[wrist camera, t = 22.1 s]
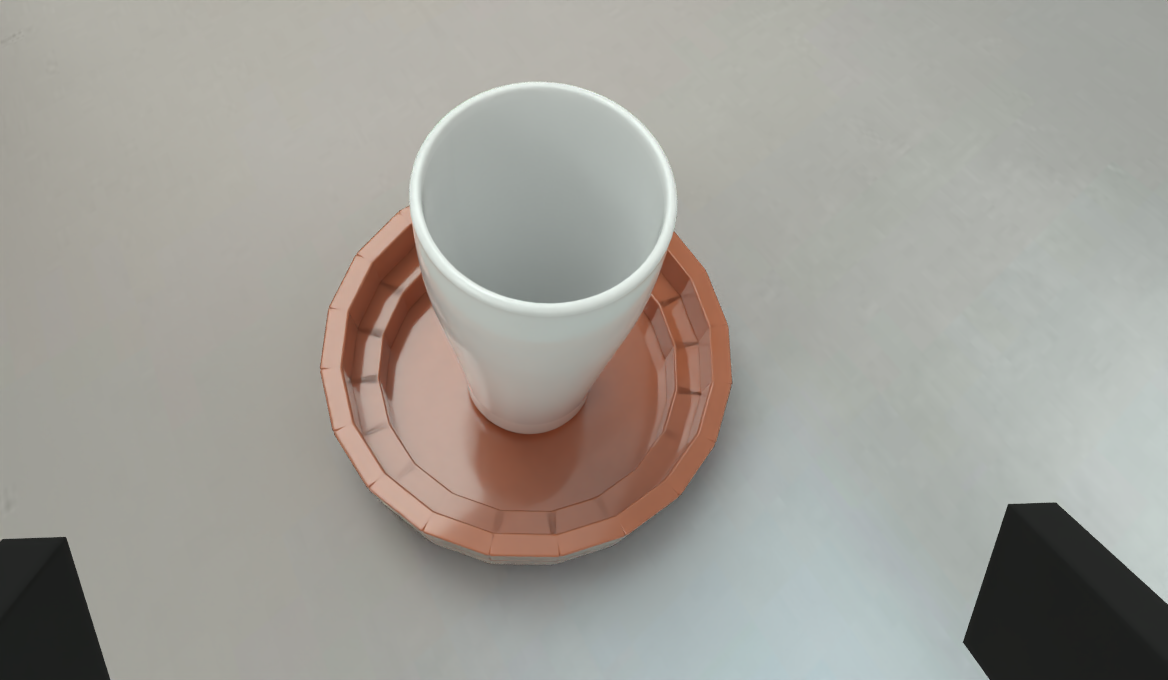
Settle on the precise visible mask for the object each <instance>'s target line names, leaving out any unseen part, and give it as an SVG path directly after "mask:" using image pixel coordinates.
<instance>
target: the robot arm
mask: <svg viewBox="0 0 1168 680" xmlns="http://www.w3.org/2000/svg"><path fill="white" fill-rule="evenodd" d="M963 643H964V644H965V646H966V647H967V648H968V650H969V651H970V653H971V654H972V655H973V657H974V658H975V660H976V661H977V662H978V664H979V665H980V667H981V668H982V669H983V671H984V672H985V674H986V675H987V676H988V678H989V679H990V680H1168V604H1167V603H1165V602H1164V601H1163V600H1162V599H1161V598H1160V597H1159V596H1158V595H1157V594H1156V593H1155V592H1153V591H1152V590H1151V589H1150V588H1149V587H1148V586H1147V585H1146V584H1145V583H1144V582H1142V581H1141V580H1140V579H1139V578H1138V577H1137V576H1136V575H1135V574H1134V573H1133V572H1132V571H1130V570H1129V569H1128V568H1127V567H1126V566H1125V565H1124V564H1123V563H1122V562H1121V561H1119V560H1118V559H1117V558H1116V557H1115V556H1114V555H1113V554H1112V553H1111V552H1110V551H1108V550H1107V549H1106V548H1105V547H1104V546H1103V545H1102V544H1101V543H1100V542H1099V541H1098V540H1096V539H1095V538H1094V537H1093V536H1092V535H1091V534H1090V533H1089V532H1088V531H1087V530H1085V529H1084V528H1083V527H1082V526H1081V525H1080V524H1079V523H1078V522H1077V521H1076V520H1075V519H1073V518H1072V517H1071V516H1070V515H1069V514H1068V513H1067V512H1066V511H1065V510H1064V509H1062V508H1061V507H1060V506H1059V505H1058V504H1057V503H1028V504H1008V506H1007V509H1006V512H1005V515H1004V518H1003V521H1002V525H1001V528H1000V531H999V534H998V537H997V540H996V543H995V546H994V549H993V552H992V555H991V558H990V561H989V564H988V567H987V570H986V573H985V577H984V580H983V583H982V586H981V589H980V592H979V595H978V598H977V601H976V604H975V607H974V610H973V613H972V616H971V619H970V622H969V626H968V629H967V632H966V635H965V638H964V641H963ZM0 680H110V677H109V674H108V671H107V668H106V664H105V661H104V658H103V655H102V652H101V648H100V645H99V642H98V639H97V635H96V632H95V629H94V626H93V622H92V619H91V616H90V613H89V610H88V606H87V603H86V600H85V597H84V593H83V590H82V587H81V584H80V580H79V577H78V574H77V571H76V568H75V564H74V561H73V558H72V555H71V551H70V548H69V545H68V542H67V538H66V537H53V538H24V539H2V541H1V542H0Z"/></svg>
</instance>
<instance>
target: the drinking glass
mask: <svg viewBox="0 0 1168 680" xmlns="http://www.w3.org/2000/svg"><path fill="white" fill-rule="evenodd" d="M409 205H410V213H411V218H412V226H413V234H414V241H415V247H416V252H417V257H418V262H419V266H420V270H421V274H422V278H423V282H424V285H425V288H426V291H427V294H428V297H429V300H430V302H431V305H432V308H433V310H434V313H435V315H436V317H437V319H438V321H439V323H440V326H441V328H442V330H443V332H444V334H445V336H446V338H447V340H448V342H449V344H450V346H451V348H452V350H453V352H454V355H455V357H456V359H457V361H458V363H459V365H460V367H461V370H462V372H463V374H464V376H465V379H466V384H467V388H468V391H469V394H470V396H471V398H472V401H473V402H474V404H475V406H476V407H477V408H478V410H479V411H480V412H481V413H482V414H483V415H484V416H485V417H486V418H487V419H488V420H489V421H491V422H492V423H493V424H495V425H497V426H498V427H500V428H502V429H505V430H507V431H510V432H514V433H519V434H539V433H545V432H548V431H551V430H554V429H556V428H558V427H560V426H562V425H564V424H565V423H567V422H568V421H569V420H571V419H572V418H573V417H574V416H575V415H576V414H577V413H578V412H579V411H580V409H581V408H582V407H583V405H584V404H585V402H586V400H587V398H588V396H589V393H590V391H591V388H592V387H593V385H594V384H595V382H596V381H597V379H598V378H599V377H600V375H601V374H602V372H603V371H604V369H605V368H606V366H607V365H608V364H609V362H610V361H611V359H612V358H613V357H614V355H615V354H616V352H617V351H618V349H619V348H620V347H621V345H622V344H623V342H624V341H625V340H626V338H627V337H628V335H629V334H630V332H631V331H632V329H633V328H634V326H635V324H636V323H637V321H638V319H639V318H640V316H641V314H642V312H643V310H644V308H645V307H646V305H647V303H648V300H649V298H650V296H651V294H652V291H653V289H654V287H655V284H656V282H657V280H658V277H659V274H660V272H661V269H662V266H663V263H664V260H665V257H666V254H667V250H668V247H669V244H670V241H671V238H672V235H673V232H674V229H675V223H676V218H677V190H676V184H675V179H674V176H673V172H672V169H671V166H670V164H669V161H668V159H667V157H666V155H665V153H664V151H663V149H662V148H661V146H660V144H659V143H658V141H657V140H656V139H655V137H654V136H653V135H652V133H651V132H650V131H649V130H648V129H647V128H646V127H645V126H644V124H643V123H642V122H641V121H639V120H638V119H637V118H636V117H635V116H634V115H633V114H631V113H630V112H629V111H627V110H626V109H625V108H623V107H622V106H620V105H618V104H617V103H615V102H614V101H612V100H610V99H608V98H606V97H604V96H602V95H600V94H597V93H595V92H592V91H590V90H586V89H583V88H580V87H576V86H572V85H568V84H561V83H554V82H523V83H515V84H509V85H504V86H500V87H497V88H493V89H490V90H488V91H485V92H482V93H480V94H478V95H476V96H473V97H471V98H470V99H468V100H466V101H464V102H463V103H461V104H460V105H458V106H457V107H455V108H454V109H453V110H451V111H450V112H449V113H448V114H447V115H445V116H444V117H443V118H442V119H441V120H440V121H439V122H438V123H437V124H436V126H435V127H434V128H433V129H432V131H431V132H430V133H429V134H428V136H427V137H426V139H425V141H424V142H423V144H422V146H421V148H420V150H419V152H418V154H417V156H416V159H415V162H414V165H413V168H412V173H411V177H410V186H409Z"/></svg>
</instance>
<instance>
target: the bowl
mask: <svg viewBox="0 0 1168 680" xmlns="http://www.w3.org/2000/svg"><path fill="white" fill-rule="evenodd" d="M320 369H321V371H320V373H321V378H322V382H323V387H324V392H325V397H326V401H327V406H328V411H329V416H330V421H331V425H332V430H333V431H334V435H335V437H336V438H337V440H338V441H339V443H340V445H341V446H342V448H343V449H344V451H345V453H346V454H347V456H348V458H349V459H350V461H351V462H352V464H353V466H354V467H355V469H356V471H357V472H358V474H359V475H360V477H361V479H362V480H363V482H364V483H365V485H366V487H367V488H368V489H369V490H370V491H371V492H372V493H373V494H374V495H375V496H376V497H377V498H378V499H379V500H380V501H381V502H382V503H383V504H384V505H385V506H386V507H388V508H389V509H390V510H391V511H393V512H394V513H395V514H396V515H397V516H399V517H400V518H401V519H402V520H404V521H405V522H406V523H407V524H409V525H410V526H411V527H412V528H414V529H415V530H416V531H417V532H419V533H420V534H421V535H422V536H424V537H425V538H426V539H427V540H429V541H430V542H432V543H433V544H436V545H439V546H442V547H445V548H447V549H450V550H453V551H456V552H459V553H461V554H464V555H467V556H470V557H473V558H475V559H478V560H481V561H484V562H487V563H489V564H519V565H554V564H559V563H562V562H565V561H568V560H571V559H574V558H577V557H580V556H584V555H587V554H590V553H593V552H596V551H599V550H602V549H605V548H608V547H611V546H613V545H615V544H617V543H618V542H619V541H621V540H622V539H623V538H625V537H626V536H627V535H629V534H630V533H631V532H633V531H634V530H635V529H637V528H638V527H640V526H641V525H642V524H644V523H645V522H646V521H648V520H649V519H650V518H652V517H653V516H654V515H656V514H657V513H658V512H660V511H661V510H662V509H664V508H665V507H666V506H668V505H669V504H670V503H672V502H673V501H674V500H676V499H677V498H678V497H679V496H680V495H681V494H682V493H683V491H684V490H685V488H686V487H687V485H688V484H689V482H690V481H691V479H692V478H693V477H694V475H695V474H696V472H697V471H698V469H699V468H700V466H701V465H702V463H703V462H704V460H705V459H706V458H707V456H708V455H709V453H710V452H711V450H712V449H713V447H714V446H715V443H716V441H717V438H718V434H719V430H720V427H721V423H722V419H723V416H724V412H725V408H726V405H727V401H728V397H729V394H730V390H731V384H732V375H731V359H730V344H729V329H728V325H727V322H726V319H725V317H724V314H723V312H722V309H721V307H720V304H719V302H718V299H717V297H716V294H715V292H714V289H713V287H712V284H711V282H710V279H709V277H708V274H707V272H706V270H705V269H704V267H703V266H702V265H701V264H700V263H699V261H698V260H697V259H696V258H695V256H694V255H693V254H692V253H691V251H690V250H689V249H688V248H687V247H686V245H685V244H684V243H683V242H682V240H681V239H680V238H679V237H678V235H677V234H676V233H675V232H673V235H672V238H671V241H670V244H669V247H668V250H667V254H666V257H665V260H664V263H663V266H662V269H661V272H660V274H659V277H658V280H657V282H656V284H655V287H654V289H653V291H652V294H651V296H650V298H649V300H648V303H647V305H646V307H645V308H644V310H643V312H642V314H641V316H640V318H639V319H638V321H637V323H636V324H635V326H634V328H633V329H632V331H631V332H630V334H629V335H628V337H627V338H626V340H625V341H624V342H623V344H622V345H621V347H620V348H619V349H618V351H617V352H616V354H615V355H614V357H613V358H612V359H611V361H610V362H609V364H608V365H607V366H606V368H605V369H604V371H603V372H602V374H601V375H600V377H599V378H598V379H597V381H596V382H595V384H594V385H593V387H592V388H591V391H590V393H589V396H588V398H587V400H586V402H585V404H584V405H583V407H582V408H581V409H580V411H579V412H578V413H577V414H576V415H575V416H574V417H573V418H572V419H571V420H569V421H568V422H567V423H565V424H564V425H562V426H560V427H558V428H556V429H554V430H551V431H548V432H545V433H539V434H519V433H514V432H510V431H507V430H505V429H502V428H500V427H498V426H497V425H495V424H493V423H492V422H491V421H489V420H488V419H487V418H486V417H485V416H484V415H483V414H482V413H481V412H480V411H479V410H478V408H477V407H476V406H475V404H474V402H473V401H472V398H471V396H470V394H469V391H468V388H467V384H466V379H465V376H464V374H463V372H462V370H461V367H460V365H459V363H458V361H457V359H456V357H455V355H454V352H453V350H452V348H451V346H450V344H449V342H448V340H447V338H446V336H445V334H444V332H443V330H442V328H441V326H440V323H439V321H438V319H437V317H436V315H435V313H434V310H433V308H432V305H431V302H430V300H429V297H428V294H427V291H426V288H425V285H424V282H423V278H422V274H421V270H420V266H419V262H418V257H417V252H416V247H415V241H414V234H413V226H412V218H411V213H410V205H409V206H408V207H406V208H404V209H402V210H400V211H399V213H397V214H396V215H395V216H394V217H393V218H392V219H391V220H390V221H389V222H388V223H387V224H386V225H385V226H384V227H383V228H382V229H381V230H380V231H379V232H378V233H377V234H376V235H375V236H374V237H373V238H372V239H371V240H370V241H369V242H368V243H367V244H366V245H365V246H364V247H363V248H362V249H361V250H360V251H359V252H358V253H357V255H355V257H354V259H353V261H352V263H351V265H350V267H349V269H348V271H347V273H346V275H345V277H344V279H343V281H342V283H341V285H340V287H339V288H338V290H337V292H336V294H335V296H334V298H333V300H332V302H331V304H330V306H329V309H328V314H327V321H326V329H325V336H324V343H323V350H322V357H321V364H320Z"/></svg>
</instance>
